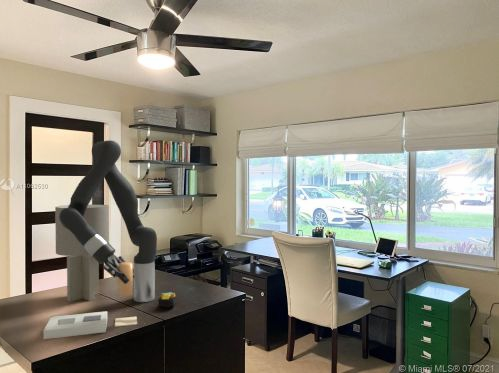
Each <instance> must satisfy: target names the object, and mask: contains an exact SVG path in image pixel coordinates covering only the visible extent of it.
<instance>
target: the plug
mask: <svg viewBox="0 0 499 373" xmlns="http://www.w3.org/2000/svg"><path fill="white" fill-rule="evenodd" d="M119 266H120V269H121V271H122V272H123V273H124V274H125V275H126V276H127V277H128V278H129V281H128V282H127V283H126V284H124V283H123V282H122V281H121V280H120V278H119V277H118V278H117V282H118V283H117V284H118V287H117V288H118V289H117V290H118V292H117V293H118V297H122V298H123V297H124V298H125V297H126V298H127V297H131V296H133V295H134V278H133V275H134V262H129V261H125V262H123V263H119Z"/></svg>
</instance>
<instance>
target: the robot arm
mask: <svg viewBox="0 0 499 373" xmlns="http://www.w3.org/2000/svg"><path fill="white" fill-rule="evenodd" d="M121 155H122V149H121V146H120V144H119V143H118V142H116V141H115V140H109V139H108V140H103V141H98V142H95V143H94V144H93V145H92V148H91V156H92V158H93V161H94V162H95V163H94V165H93V167H92V168H91V169H90V170H89V171H88V172H87V173H86V174H85V176H83V178H82V179H81V180H80V182H79V183H78V184H77V185H76V187H75V190H74V191H73V193H72V195H71V197H70V202H69V206H68V208H65V209H63V210H62V211H61V212H60V215H59V219H60V222H61V224H62V225H63V226H64V227H65V228H67V229H69V230H70V231H71V232H72V233H73V234H74V235H75V237H76V239H77V240H78V241H79V242H80V243H81V244H82V245H83V246H84V247H85V249H86V250H87V251H88V252H89V253H90V254H91V255H92V256H93V258H94V259H95V260H96V261H97V262H98V263H99V265H102V264H104V265H103V266H102V269H103V270H105V271H106V272H107V273H108V274H109V275H111V277H113V278H117V279H118V277H119V278H120V280H121V281H122V282H123V283H124V284H126V283H127V282H128V281H129V278H128V277H127V276H126V275H125V274H124V273H123V272H122V271H121V269H120V266H119V263H123V262H126V261H125V259H124V258H123V257H122V256H121V255H119V256H116V255H115V253H116V249H115V248H114V247H113V246H112V245H111V243H110V242H109V243H108V242H107V241H106V240H105V239H104V238H103V237H102V236H100V235H99V234H98V233H97V232H96V231H95V230H94V229H93V228H92V227H91V226H90V225H89V224H88V223H87V221H86V220H85V219H84V218H83V216H84V213H85V211H86V208H87V206H88V205H90V202H91V201H92V199H93V197H94V195H95V194H96V191H97V190H98V189H99V186H100V184H101V183H102V181H103V180H105V182H106V185H107V187H108V189H109V191H110V193H111V195H112V196H111V197H112V198H113V199H114V202H115V205H116V206H117V209H118V211H119V213H120V215H121V217H122V220H123V222H124V224H125V227H126V230H127V233H128V236H129V239H130V242H131V243H132V245H134V246H136V247H138V252H137V254H135V255H134V257H133V301H134V302H137V303H147V302H152V301H154V300H155V298H156V297H155V296H156V292H155V291H156V290H155V289H156V288H155V287H156V283H155V282H156V281H155V280H156V271H155V266H156V264H155V263H156V262H155V261H156V260H155V259H156V257H157V251H158V250H157V249H158V248H157V246H158V245H157V243H158V235H157V232H156V230H155V229H154V228H151V227H147V226H146V227H145V226H144V225H143V223H142V221H141V219H140V216H139V200H138V196H137V194H136V192H135V189H134V187H133V186H132V184H131V183H130V182H129V180H128V179H127V178H126V177H125V176H124V175H123V174H122V172H120V170H119V169H118V167H117V165H116V162H118V160H119V158H120V157H121Z"/></svg>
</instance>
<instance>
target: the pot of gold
mask: <svg viewBox="0 0 499 373" xmlns="http://www.w3.org/2000/svg"><path fill="white" fill-rule="evenodd" d="M177 299H178V294H176V293H175V292H162V293H161V295H160V297H159V298H158V299H157V302H158V306H159V307H162V308H163V309H164V308H169V309H170V308H171V307H172V306H174V305H176V303H177Z"/></svg>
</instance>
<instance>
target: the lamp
mask: <svg viewBox="0 0 499 373" xmlns="http://www.w3.org/2000/svg"><path fill="white" fill-rule="evenodd" d="M68 206H69V205H59V206H55V207H54V208H55V214H54V216H55V219H54V220H55V226H54V227H55V254H56V255H58V256H64V257H66V277H67V278H66V281H67V283H66V287H67V288H66V290H67V293H66V294H67V296H66V297H67V298H66V299H67V300H66V301H67V302H70V303H71V302H74V301H77V300H82V299H83V300H85V301H89V302H91V301H94V300H95V296H98V295H100V283H99V282H100V278H99V277H100V275H99V274H100V272H99V269H100V264H99V263H98V262H97V261H96V260H95V259H94V258H93V256H92V255H91V254H90V253H89V252H88V251H87V250H86V249H85V247H84V246H83V245H82V244H81V243H80V242H79V241H78V240H77V239H76V237H75V235H74V234H73V233H72V232H71V231H70V230H69V229H67V228H65V227H64V226H63V225H62V224H61V222H60V219H59V215H60V212H61V211H62V210H63V209H65V208H68ZM83 218H84V219H85V220H86V221H87V223H88V224H89V225H90V226H91V227H92V228H93V229H94V230H95V231H96V232H97V233H98V234H99V235H100V236H102V237H103V238H104V239H105V240H106V241H107V242H108V243H109V244H110V206H109V205H108V204H88V206H87V208H86V211H85V213H84V216H83Z"/></svg>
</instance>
